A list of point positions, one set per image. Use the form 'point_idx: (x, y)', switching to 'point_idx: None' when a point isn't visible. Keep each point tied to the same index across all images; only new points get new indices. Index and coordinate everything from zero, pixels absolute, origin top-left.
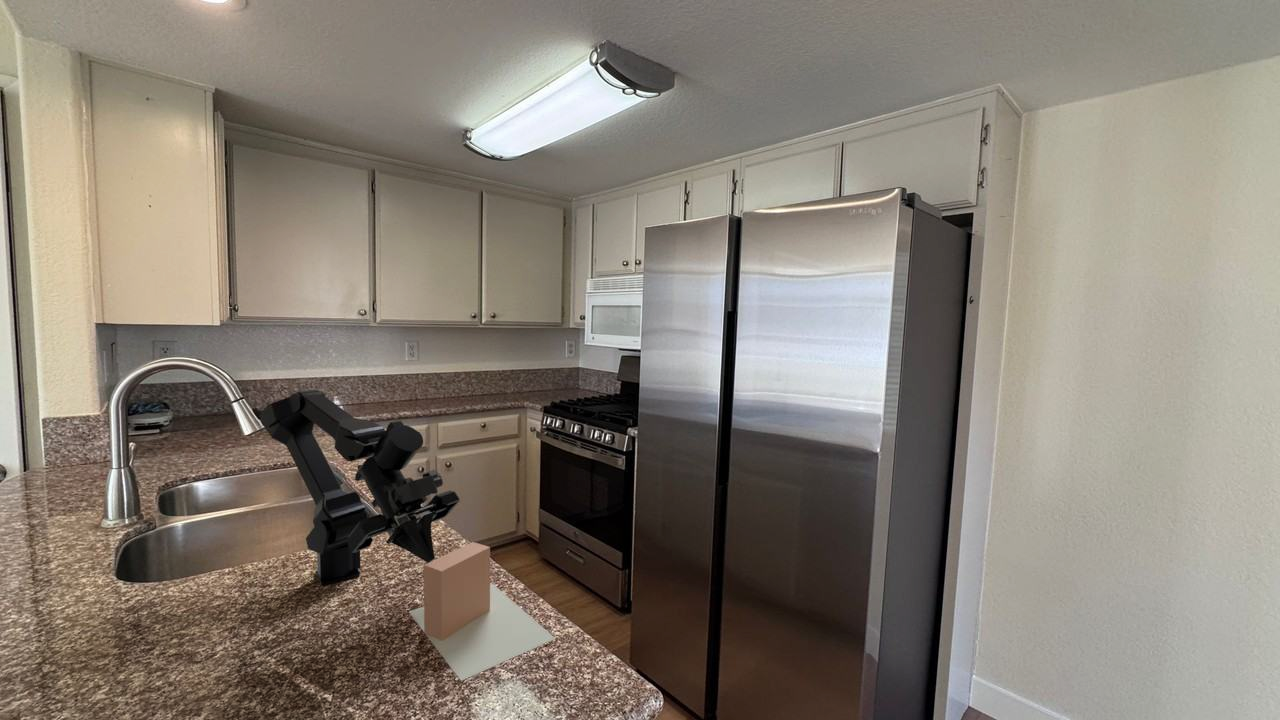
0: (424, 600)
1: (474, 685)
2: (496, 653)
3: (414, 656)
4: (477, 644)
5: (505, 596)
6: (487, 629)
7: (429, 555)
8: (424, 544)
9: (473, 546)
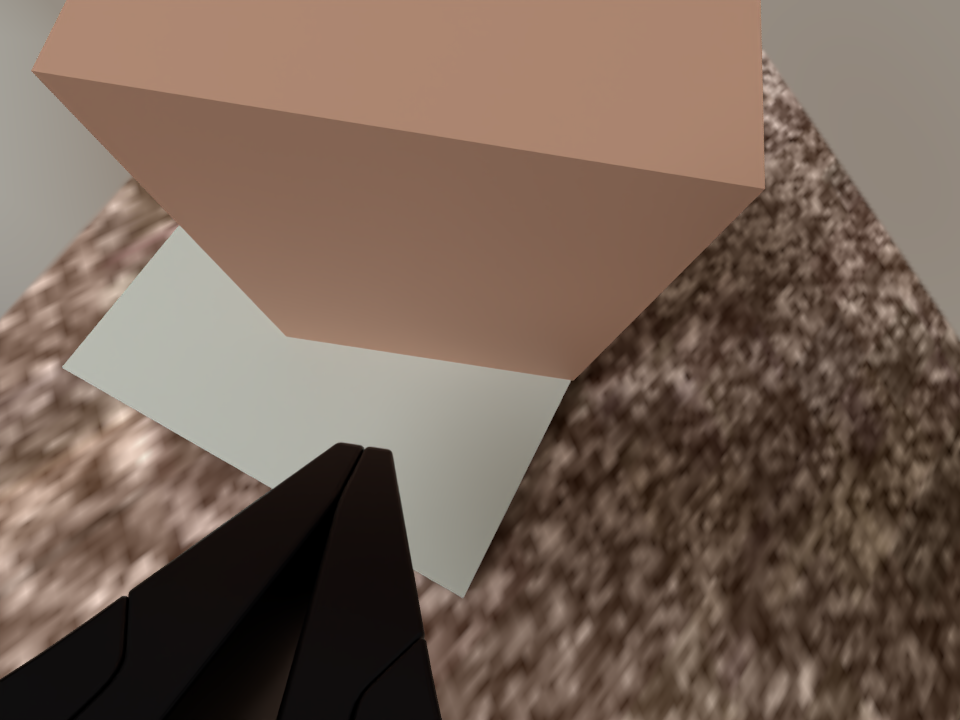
0: (624, 326)
1: None
2: None
3: (674, 334)
4: None
5: (179, 235)
6: None
7: (376, 472)
8: (335, 581)
9: (158, 5)
